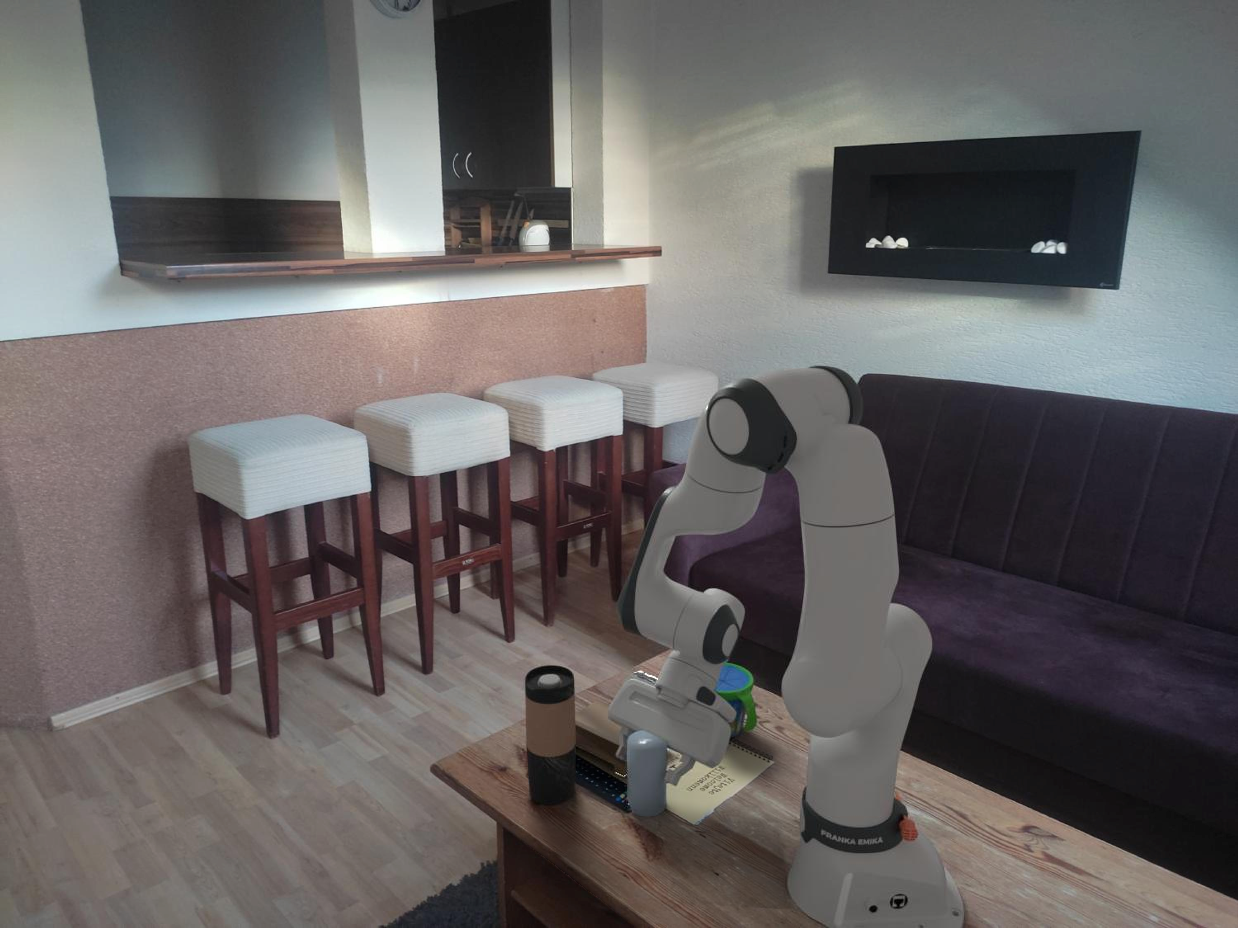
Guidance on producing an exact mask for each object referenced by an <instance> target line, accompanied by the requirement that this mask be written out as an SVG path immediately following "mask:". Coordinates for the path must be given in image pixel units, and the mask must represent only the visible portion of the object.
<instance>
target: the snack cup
mask: <svg viewBox="0 0 1238 928" xmlns="http://www.w3.org/2000/svg"><path fill="white" fill-rule="evenodd" d="M754 683H755V679H754V676H753V675H752V673H751V672H750V671H749V670H748V669H746V668H744V667H743V666H740V665H739V664H738V665H737V664H734V663H729V662H726V663H725V664H724V666H723V667H722V669H721V672H720V676H719V682H718V684H717V686H716V688H715V690H716V691H717V692H718V693H719V694H720V695H721V696H722V698H723V699H725V700H726V701H727V702H728V703H729V704H730V705H731V706H732V707H733V708H734V710H735V711H736V717H735V719H734V721H733V722H731V723H729V722H728V724H729V725H730V728H731V735H730V738H731V737H733V738H734V737H736V736H737V735H738V734H739V733H740V732H741V730H742V729H743V726H744V729H743V731H745V732H747V733H748V732H750V731H752V730H753V729H754V728H756V726H757V723H758V716H757V712H756V711H757V710H756V704H755V700H754V697H753V694H752V693H751V692H752V691H753V688H754ZM746 716H747V717H746ZM745 717H746V721H745ZM744 722H745V725H744Z"/></svg>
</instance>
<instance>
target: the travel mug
mask: <svg viewBox="0 0 1238 928" xmlns="http://www.w3.org/2000/svg"><path fill="white" fill-rule="evenodd" d="M526 673H527V674H526V675H525V677H524V689H525V690H524V695H525V697H524V698H525V699H524V700H525V703H524V704H525V741H526V742H525V744H526V760H527V772H528V773H527V776H528V778H527V779H528V789H529V795H530V797H531V798H532V799H533V800H534V801H535V802H537V803H539V804H542V805H545V806H546V805H547V806H548V805H549V806H554V805H559V804H563V803H565V802H567V801H569V800H570V799H571V798H572V797H573V795H574V794H575V793H574V792H575V787H576V786H575V785H576V752H577V751H576V748H577V746H576V729H575V714H576V699H575V698H576V697H575V694H576V693H575V692H576V691H575V690H576V689H575V675H574V672H573V671H572V670H570V669H569V668H567V667H564V666H563V665H562V666H561V665H556V664H555V665H553V664H552V665H551V664H546V665H541V666H537V667H534V668H533V669H531V670H529V671H528V672H526Z"/></svg>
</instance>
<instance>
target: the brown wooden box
mask: <svg viewBox="0 0 1238 928" xmlns="http://www.w3.org/2000/svg"><path fill="white" fill-rule="evenodd" d="M609 706H610V704H608V703H605V702H603V701H601V700H599V699H597V700H595V701H594V702H592V703H591V704H589V705H587V706H586V707H583V708H582V709H580V710H579V711H578V712H575V729H576V748H579V749H582V750H584V751H585V752H588V753H589V754H590V755H591V754H592V755H593V756H595V757H598V758H600V759H601V760H603V761H606V762H608V763H609V764H612V765H614V766H613V767H614V769H613V771H615V772H617V773H619V774H621V775H623V776H624V775H626V774H627V762H625V761H623V760H621V759H619V758H617V757H616V753H617V751H618V748H619V746H620V745H619V732H620V729H621V726H619V725H617V724H615V723H614V722H612V721H611V720H610V719H609V718H608V712H607V711H608V708H609Z"/></svg>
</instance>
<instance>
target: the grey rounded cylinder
mask: <svg viewBox="0 0 1238 928" xmlns="http://www.w3.org/2000/svg"><path fill="white" fill-rule="evenodd" d="M667 762H668V748H667V741H666V740H664V739H661V738H659V737H657V736H655V735H653V734H650V733H648V732H646V731H644V730H642V731H638V732H635V733H633V734H631V735H630V736H629V737H628V740H627V776H626V777H627V779H626V783H627V784H626V785H627V786H626V791H627V793H626V798H627V799H626V801H627V800H628V802H629V805H630V807H631V809H632V811H633V812H634V813H633V814H634V815H636V816H640V817H644V818H645V817H646V818H647V817H648V818H649V817H654V816H655V817H656V816H658V815H660V814H662V813H663V812H664V810H665V809H666V808H665V807H667V784H668V782H666V781H665V776H666V775H667V772H668V770H667V769H668V767H667V766H668V763H667Z"/></svg>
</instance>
